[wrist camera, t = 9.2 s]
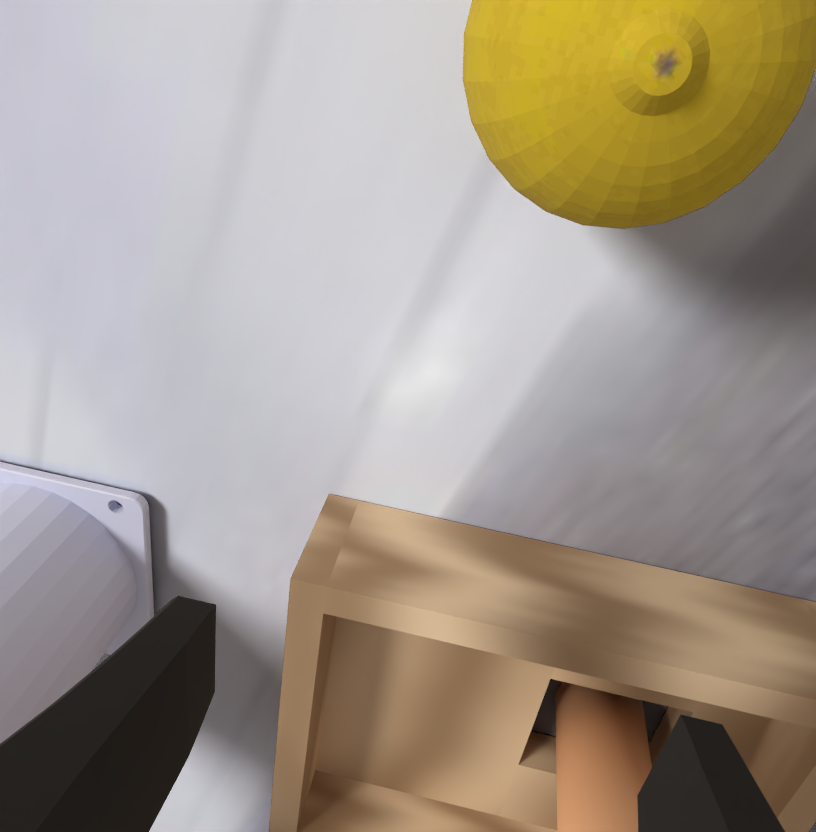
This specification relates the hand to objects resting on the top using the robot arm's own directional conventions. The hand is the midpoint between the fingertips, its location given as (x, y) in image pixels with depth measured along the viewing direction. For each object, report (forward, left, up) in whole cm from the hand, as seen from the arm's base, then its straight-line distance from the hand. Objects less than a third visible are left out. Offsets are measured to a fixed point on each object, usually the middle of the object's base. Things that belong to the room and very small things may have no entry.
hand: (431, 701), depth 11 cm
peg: (+6, -11, -10) cm, 16 cm away
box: (+4, -11, -10) cm, 16 cm away
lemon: (+1, +9, -11) cm, 14 cm away
